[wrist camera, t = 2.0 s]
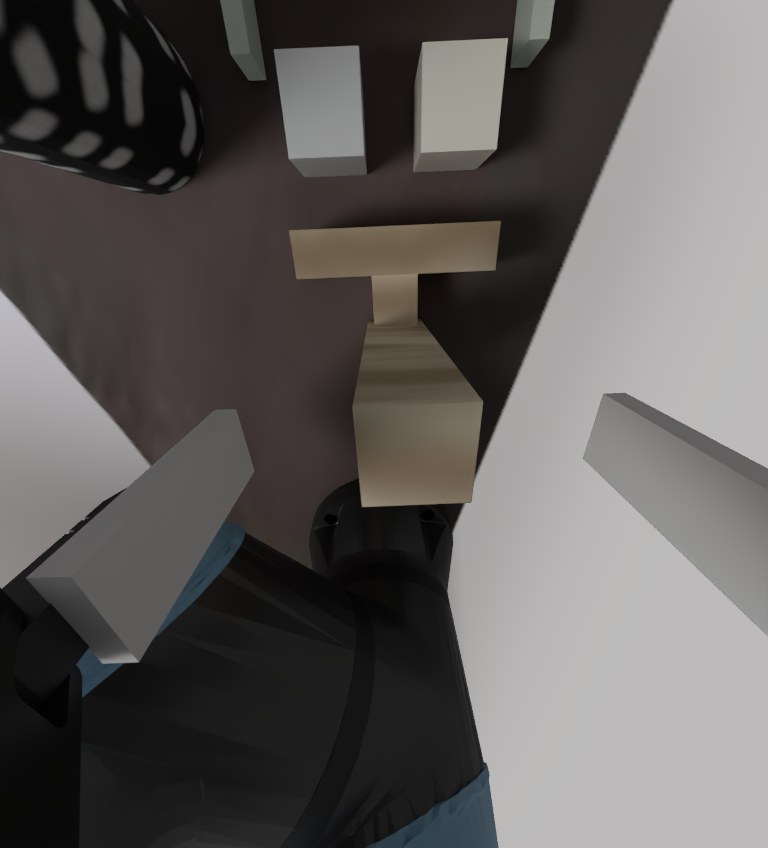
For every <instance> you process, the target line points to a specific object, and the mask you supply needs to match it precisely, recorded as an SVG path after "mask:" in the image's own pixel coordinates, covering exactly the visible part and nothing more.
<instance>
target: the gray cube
mask: <svg viewBox="0 0 768 848" xmlns="http://www.w3.org/2000/svg"><path fill="white" fill-rule="evenodd" d="M274 55H275V62H276V69H277V76H278V84H279V91H280V98H281V105H282V112H283V119H284V127H285V134H286V141H287V148H288V155H289V159H290V161H291V162H292V163H293V164H294V165H295V166H296V168H297V169H298V170H299V171H300V172H301V173H302V174H303V176H304V177H324V176H349V175H367V164H366V143H365V123H364V102H363V85H362V74H361V64H360V54H359V46H337V47H314V48H292V49H274Z"/></svg>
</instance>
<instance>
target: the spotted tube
mask: <svg viewBox="0 0 768 848" xmlns="http://www.w3.org/2000/svg"><path fill="white" fill-rule="evenodd" d="M203 141H204V123H203V115H202V109H201V104H200V100H199V97H198V94H197V91H196V88H195V85H194V82H193V79H192V77H191V75H190V73H189V71H188V69H187V67H186V65H185V63H184V61H183V60H182V58H181V57H180V55H179V54H178V52H177V51H176V49H175V48H174V46H173V45H172V44H171V42H170V41H169V40H168V39H167V38H166V37H165V36H164V34H163V33H162V32H161V31H160V30H159V29H158V28H157V27H156V26H155V25H154V23H153V22H152V21H151V20H150V19H149V18H148V17H147V16H146V15H145V14H144V13H143V12H142V11H141V10H140V8H139V7H138V6H137V5H136V4H135V3H134V2H133V1H132V0H0V151H2V152H6V153H9V154H12V155H16V156H19V157H22V158H26V159H29V160H32V161H36V162H39V163H42V164H46V165H49V166H52V167H56V168H59V169H62V170H65V171H69V172H72V173H75V174H79V175H82V176H85V177H89V178H92V179H95V180H99V181H102V182H105V183H109V184H112V185H115V186H119V187H122V188H125V189H129V190H132V191H135V192H140V193H144V194H150V195H161V194H165V193H170V192H173V191H174V190H176V189H178V188H180V187H182V186H183V185H184V184H185V183H186V182H187V181H188V180H189V179H190V178H191V177H192V175H193V173H194V172H195V170H196V168H197V167H198V164H199V161H200V158H201V154H202V150H203Z"/></svg>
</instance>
